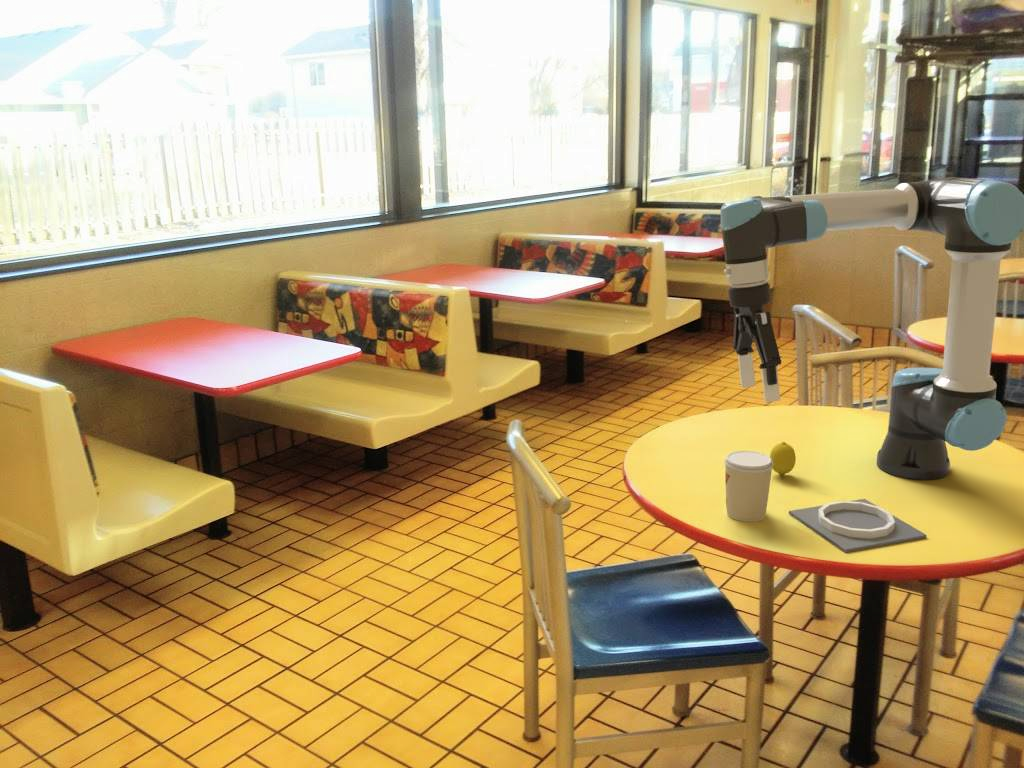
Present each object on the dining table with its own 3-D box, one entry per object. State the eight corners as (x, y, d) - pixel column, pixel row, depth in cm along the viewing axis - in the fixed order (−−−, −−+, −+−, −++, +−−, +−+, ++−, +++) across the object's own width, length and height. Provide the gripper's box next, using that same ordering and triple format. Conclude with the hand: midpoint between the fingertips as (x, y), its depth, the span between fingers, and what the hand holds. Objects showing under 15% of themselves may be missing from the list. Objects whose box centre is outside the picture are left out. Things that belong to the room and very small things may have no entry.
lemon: (767, 478, 199) (769, 444, 196) (769, 469, 204) (771, 436, 201) (793, 481, 197) (796, 447, 194) (795, 472, 202) (797, 439, 199)
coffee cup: (734, 500, 188) (737, 446, 184) (777, 511, 182) (780, 456, 179) (714, 515, 181) (716, 460, 177) (757, 527, 175) (761, 470, 172)
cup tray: (864, 501, 186) (865, 491, 185) (926, 537, 169) (927, 527, 168) (788, 513, 181) (789, 504, 180) (844, 552, 164) (845, 542, 164)
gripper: (710, 281, 179) (721, 384, 183) (750, 293, 154) (762, 411, 159) (746, 275, 179) (757, 378, 183) (792, 286, 155) (804, 404, 159)
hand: (760, 393), depth 171 cm, fingers open, 13 cm apart
